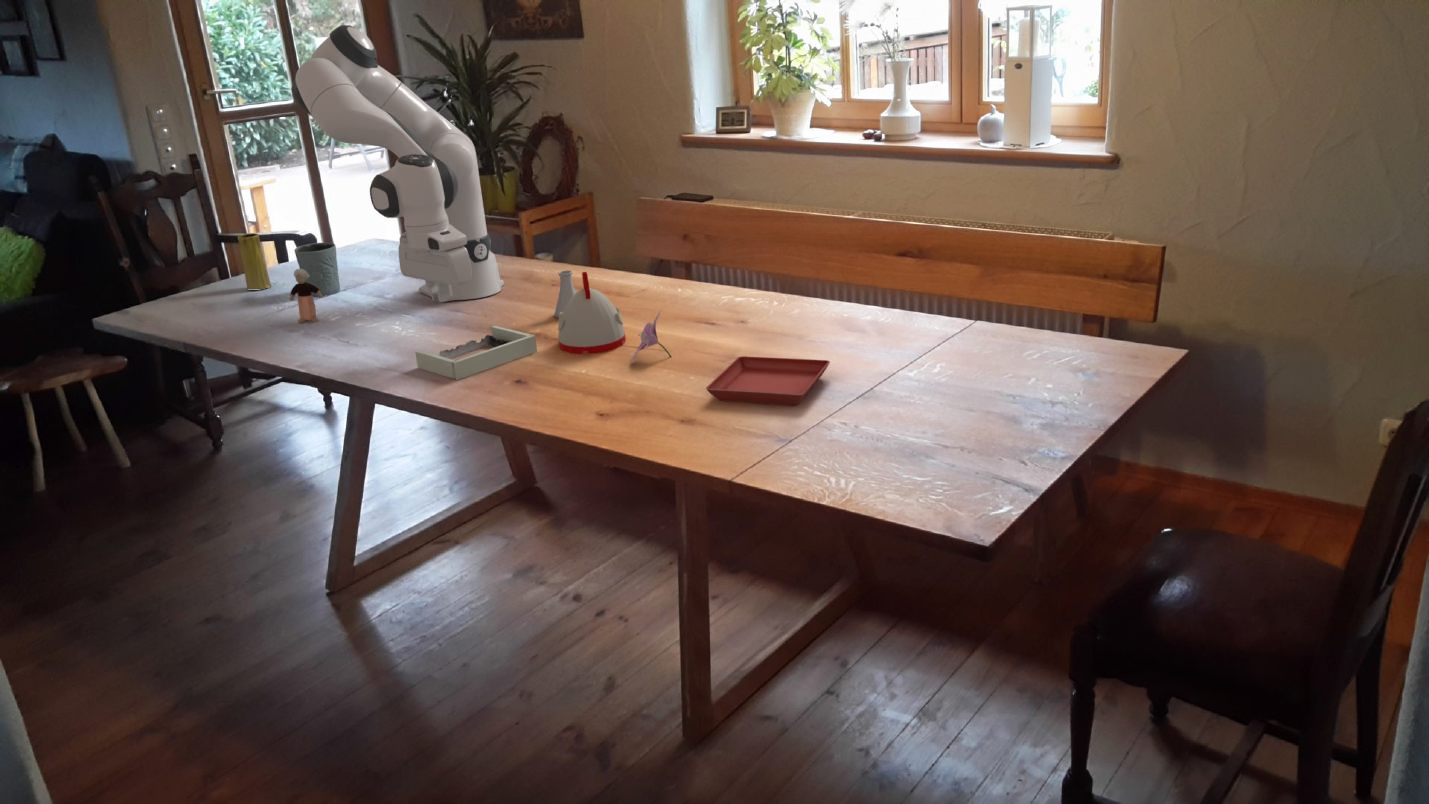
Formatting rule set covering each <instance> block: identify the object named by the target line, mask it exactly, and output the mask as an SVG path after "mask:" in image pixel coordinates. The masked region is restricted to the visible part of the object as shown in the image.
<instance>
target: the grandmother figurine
mask: <svg viewBox="0 0 1429 804" xmlns="http://www.w3.org/2000/svg"><path fill="white" fill-rule="evenodd" d="M293 276H294V278H295V281H296V282H297V283H296V284H295V285H294V286H293V287H292V289H291V291H290V293H289V295H290V296H289V301H291V302H293V301H294V300H295V297H296V295H297V305H298V313H299V314H298V315H299V319H298V320H297V324H298V323H299V324H303V323H306V322H308V323H315V322H318V317H317V310H316V309H317V308H316V304H315V299H314V297H313V296H312V294H311V292H312V293H315V294H317V295H318V299H322V298H323V297H324V296H323V295H322V294H321V292H320V291H319V289H318V288H317V287H316V286H314V285H312V284H309V283H306V281H307V279H308V278H309V276H310V275H309V274H308V273H307V272H306V271H305V270H303V269H300V268H297V269H295V270H294V272H293Z"/></svg>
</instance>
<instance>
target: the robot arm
mask: <svg viewBox="0 0 1429 804" xmlns="http://www.w3.org/2000/svg"><path fill="white" fill-rule="evenodd" d="M377 58H378V54H377V50H376V46H375V44H374V43H373V42H372V40H371V39H370V38H369V36H367V35H366V34H365V33H364V32H363V31H361V30H360V29H358V28H357V27H355V26H353V25H348V24H341V25H339V26H337V27H336V28H335V29H333V31H331V32H330V33H329V36H328V37H327V38H326V39H325V40H324V41H323V42H321V44H320V45H319V46H318V47H317V48H315V50H314V51H313V52H312V54H311V56H310V57H309V59H308V60H306V61H305V62H303V63H302V64H301V65H300V66H299V68H298V69H297V71H296V73H295V78H294V80H293V82H292V85H291V88H290V89H291V90H290V91H291V96H292V99H293V101H294V102H295V103H296V105H297V106H298V107H299V108H300V109H302V110H303V111H304V112H305V113H307V114H308V115H310V116H311V117H313V120H314V121H315V122H316V124H317V125H318V126H319V128H320V129H321V130H322V131H323V132H324V133H325V134H326V135H327V136H328V137H330V138H331V139H332V140H334V141H337V142H339V143H345V144H353V145H354V144H355V145H356V144H358V145H369V146H375V147H380V148H383V149H386V150H387V151H390V152H392V153H393V154H394V155H395V156H397V160H396V161H395V164H394V166H392V167H391V168H390V169H387V170H385V171H383V172H380V173H379V174H376V175H375V176H374V177H373V179H372V181H371V183H370V187H369V196H370V201H371V205H372V207H373V208H374V210H375V211H376V212H377V213H378V214H380V215H382V216H383V217H384V218H387V219H399V218H403V221H404V223H403V225H404V232H402V234H401V235H400V237H399V245H398V260H399V261H398V263H399V269H400V272H401V274H402V276H404V277H406V278H407V277H408V278H412V279H417V280H423V281H425V284H423V285H421V286H419V287H418V292H419V293H421V294H423V295H426V296H428V297H431V299H432V301H435V302H439V303H444V302H450V301H462V300H465V301H466V300H475V299H481V298H485V297H490V296H493V295H495V294H497V293H499V292H500V291H501V290H502V289H503V288H502V286H504V285H505V282H504V280H503V279H501V277H500V274H499V273H500V272H499V269H498V263H497V260H496V256H495V253H493V252H492V251H491V248H492V244H491V242H492V241H491V238H490V234H489V233H488V231H487V224H486V216H485V208H484V202H483V195H482V187H481V180H480V179H481V178H480V172H479V167H478V166H479V165H478V158H477V152H476V147H475V146H474V143H473V141H472V139H471V138H470V137H469V136H467V135H466V134H465V133H464V132H462V131H461V130H460V129H459V128H457V126H455V125H454V124H453V123H452V122H450V121H449V120H448V119H446V118H445V117H444V116H443V115H441V114H440V113H439V112H438V111H436V110H435V109H433V107H431V106H430V105H429V104H427V103H426V102H425V101H424V100H423V99H422V98H421V97H419V96H418V95H417V94H416V93H415V92H413V90H411V89H410V88H409V87H408V86H406V85H405V84H404V83H403V82H402V81H401V80H399V79H398V78H397V77H396V76H394V74H392V73H390V72H389V71H388V70H386V69H385V68H383V67H382V66H380V65H379V62H378V60H377Z"/></svg>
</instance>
